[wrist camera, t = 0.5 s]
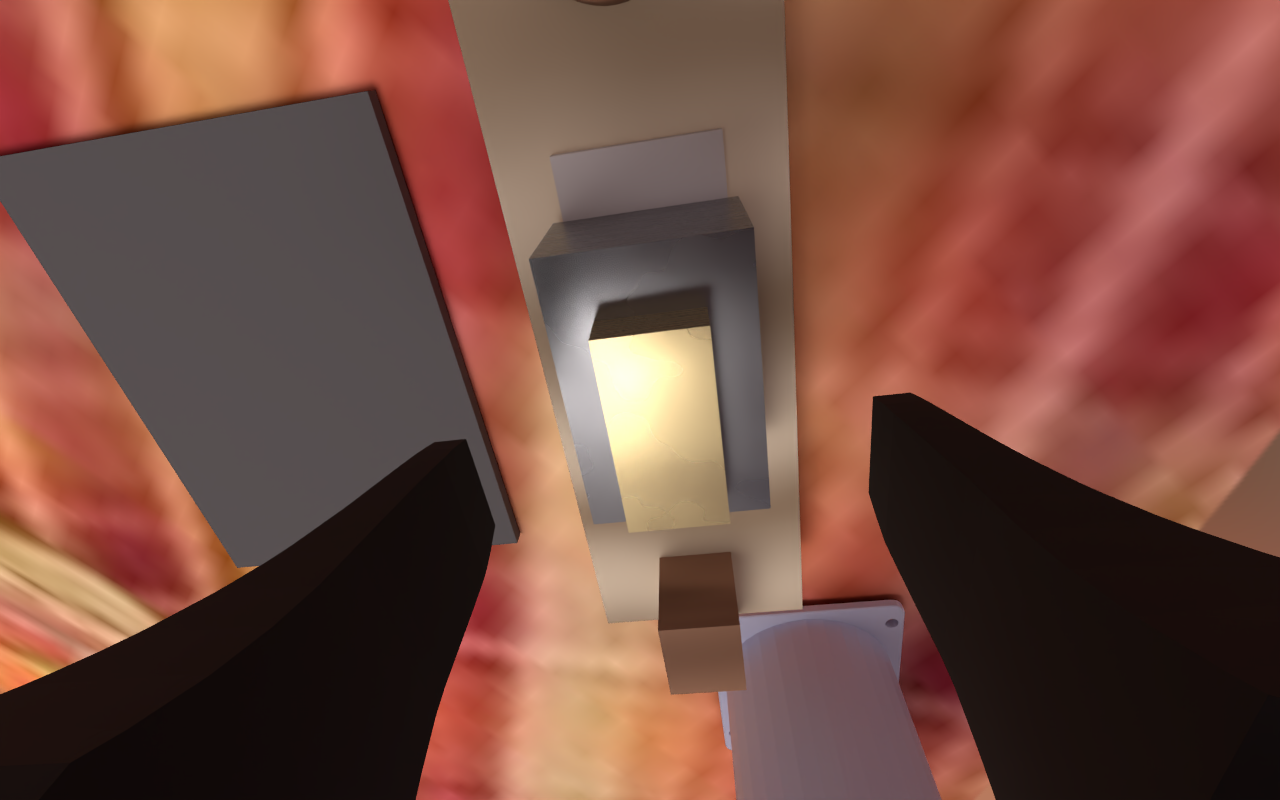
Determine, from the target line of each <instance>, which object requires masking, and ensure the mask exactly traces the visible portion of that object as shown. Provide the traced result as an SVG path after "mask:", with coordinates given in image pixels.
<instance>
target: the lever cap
mask: <svg viewBox="0 0 1280 800" xmlns="http://www.w3.org/2000/svg"><path fill="white" fill-rule="evenodd" d="M529 263H530V267H531V271H532V275H533V279H534V283H535V287H536V291H537V295H538V299H539V303H540V307H541V311H542V316H543V320H544V324H545V328H546V332H547V336H548V340H549V344H550V348H551V352H552V356H553V360H554V364H555V368H556V373H557V377H558V381H559V385H560V389H561V393H562V397H563V401H564V405H565V409H566V413H567V417H568V421H569V426H570V430H571V434H572V438H573V442H574V446H575V450H576V454H577V458H578V462H579V466H580V470H581V474H582V478H583V483H584V487H585V491H586V495H587V499H588V503H589V507H590V511H591V515H592V519H593V523H594V524H605V523H616V522H627V527H628V532H629V533H632V532H643V531H655V530H666V529H677V528H689V527H700V526H711V525H722V524H730V514H729V512H737V511H748V510H759V509H770V508H771V504H770V487H769V470H768V453H767V437H766V420H765V403H764V386H763V370H762V353H761V336H760V319H759V303H758V286H757V269H756V253H755V236H754V226H753V224H752V222H751V220H750V218H749V216H748V214H747V212H746V210H745V208H744V206H743V204H742V202H741V200H740V198H739V196H735V197H728V198H722V199H715V200H708V201H701V202H694V203H688V204H681V205H674V206H667V207H660V208H654V209H647V210H640V211H633V212H627V213H620V214H613V215H606V216H599V217H593V218H586V219H579V220H572V221H565V222H559V223H553V224H552V226H551V227H550V229H549V230H548V232H547V233H546V235H545V236H544V237H543V239H542V240H541V242H540V243H539V245H538V246H537V248H536V249H535V251H534V252H533V253H532V255H531V256H530V258H529Z"/></svg>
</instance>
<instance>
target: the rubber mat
mask: <svg viewBox="0 0 1280 800" xmlns="http://www.w3.org/2000/svg"><path fill="white" fill-rule="evenodd" d="M0 201H1V203H2V204H3V206H4V207H5V209H6V210H7V212H8V214H9V215H10V217H11V218H12V220H13V221H14V223H15V224H16V226H17V228H18V229H19V231H20V232H21V234H22V235H23V237H24V238H25V240H26V241H27V243H28V245H29V246H30V248H31V249H32V251H33V252H34V254H35V255H36V257H37V258H38V260H39V262H40V263H41V265H42V266H43V268H44V269H45V271H46V272H47V274H48V275H49V277H50V279H51V280H52V282H53V283H54V285H55V286H56V288H57V289H58V291H59V292H60V294H61V296H62V297H63V299H64V300H65V302H66V303H67V305H68V306H69V308H70V309H71V311H72V313H73V314H74V316H75V317H76V319H77V320H78V322H79V323H80V325H81V327H82V328H83V330H84V331H85V333H86V334H87V336H88V337H89V339H90V340H91V342H92V344H93V345H94V347H95V348H96V350H97V351H98V353H99V354H100V356H101V357H102V359H103V361H104V362H105V364H106V365H107V367H108V368H109V370H110V371H111V373H112V374H113V376H114V378H115V379H116V381H117V382H118V384H119V385H120V387H121V388H122V390H123V391H124V393H125V395H126V396H127V398H128V399H129V401H130V402H131V404H132V405H133V407H134V408H135V410H136V412H137V413H138V415H139V416H140V418H141V419H142V421H143V422H144V424H145V425H146V427H147V429H148V430H149V432H150V433H151V435H152V436H153V438H154V439H155V441H156V443H157V444H158V446H159V447H160V449H161V450H162V452H163V453H164V455H165V456H166V458H167V460H168V461H169V463H170V464H171V466H172V467H173V469H174V470H175V472H176V473H177V475H178V477H179V478H180V480H181V481H182V483H183V484H184V486H185V487H186V489H187V490H188V492H189V494H190V495H191V497H192V498H193V500H194V501H195V503H196V504H197V506H198V507H199V509H200V511H201V512H202V514H203V515H204V517H205V518H206V520H207V521H208V523H209V524H210V526H211V528H212V529H213V531H214V532H215V534H216V535H217V537H218V538H219V540H220V541H221V543H222V545H223V546H224V548H225V549H226V551H227V552H228V554H229V555H230V557H231V559H232V560H233V562H234V563H235V565H236V566H237V568H240V567H251V566H260V565H262V564H264V563H265V562H267V561H268V560H270V559H271V558H273V557H274V556H276V555H278V554H279V553H281V552H282V551H284V550H285V549H287V548H288V547H290V546H291V545H293V544H294V543H296V542H297V541H298V540H300V539H301V538H303V537H304V536H305V535H307V534H308V533H310V532H311V531H313V530H314V529H315V528H317V527H318V526H320V525H321V524H322V523H324V522H325V521H327V520H328V519H329V518H331V517H332V516H334V515H335V514H337V513H338V512H339V511H341V510H342V509H344V508H345V507H346V506H348V505H349V504H350V503H352V502H353V501H354V500H356V499H357V498H358V497H359V496H361V495H362V494H363V493H365V492H366V491H367V490H369V489H370V488H371V487H373V486H374V485H375V484H377V483H378V482H379V481H381V480H382V479H383V478H384V477H386V476H387V475H388V474H390V473H391V472H392V471H394V470H395V469H396V468H398V467H399V466H400V465H402V464H403V463H404V462H406V461H407V460H408V459H410V458H411V457H412V456H414V455H415V454H417V453H418V452H420V451H421V450H423V449H424V448H426V447H427V446H429V445H431V444H432V443H434V442H440V441H450V440H459V439H466V440H467V443H468V446H469V449H470V452H471V455H472V457H473V460H474V463H475V466H476V469H477V472H478V475H479V478H480V481H481V484H482V487H483V490H484V493H485V496H486V499H487V502H488V505H489V508H490V511H491V514H492V517H493V520H494V522H495V530H494V536H493V541H492V545H500V544H511V543H517V542H518V539H519V536H520V533H519V530H518V527H517V524H516V520H515V517H514V514H513V511H512V508H511V505H510V502H509V499H508V496H507V493H506V490H505V487H504V484H503V481H502V478H501V474H500V471H499V468H498V465H497V462H496V459H495V456H494V453H493V450H492V447H491V444H490V441H489V438H488V435H487V431H486V428H485V425H484V422H483V419H482V416H481V413H480V410H479V407H478V404H477V401H476V398H475V395H474V392H473V388H472V385H471V382H470V379H469V376H468V373H467V370H466V367H465V364H464V361H463V358H462V355H461V352H460V349H459V346H458V342H457V339H456V336H455V333H454V330H453V327H452V324H451V321H450V318H449V315H448V312H447V309H446V306H445V303H444V299H443V296H442V293H441V290H440V287H439V284H438V281H437V278H436V275H435V272H434V269H433V266H432V263H431V260H430V257H429V253H428V250H427V247H426V244H425V241H424V238H423V235H422V232H421V229H420V226H419V223H418V220H417V217H416V214H415V210H414V207H413V204H412V201H411V198H410V195H409V192H408V189H407V186H406V183H405V180H404V177H403V174H402V171H401V167H400V164H399V161H398V158H397V155H396V152H395V149H394V146H393V143H392V140H391V137H390V134H389V131H388V128H387V125H386V121H385V118H384V115H383V112H382V109H381V106H380V103H379V100H378V97H377V94H376V91H375V90H372V91H365V92H359V93H354V94H348V95H343V96H337V97H331V98H326V99H320V100H314V101H309V102H303V103H298V104H292V105H286V106H281V107H275V108H269V109H264V110H258V111H253V112H247V113H241V114H236V115H230V116H224V117H219V118H213V119H208V120H202V121H196V122H191V123H185V124H179V125H174V126H168V127H163V128H157V129H151V130H146V131H140V132H134V133H129V134H123V135H118V136H112V137H106V138H101V139H95V140H89V141H84V142H78V143H73V144H67V145H61V146H56V147H50V148H44V149H39V150H33V151H28V152H22V153H16V154H11V155H5V156H0Z"/></svg>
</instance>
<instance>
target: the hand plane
mask: <svg viewBox="0 0 1280 800" xmlns="http://www.w3.org/2000/svg"><path fill="white" fill-rule="evenodd" d="M448 1H449V5H450V9H451V13H452V16H453V20H454V24H455V28H456V32H457V36H458V40H459V44H460V48H461V51H462V55H463V59H464V63H465V67H466V71H467V75H468V79H469V83H470V86H471V90H472V94H473V98H474V102H475V106H476V110H477V114H478V118H479V122H480V125H481V129H482V133H483V137H484V141H485V145H486V149H487V153H488V157H489V160H490V164H491V168H492V172H493V176H494V180H495V184H496V188H497V192H498V196H499V199H500V203H501V207H502V211H503V215H504V219H505V223H506V227H507V231H508V234H509V238H510V242H511V246H512V250H513V254H514V258H515V262H516V266H517V270H518V273H519V277H520V281H521V285H522V289H523V293H524V297H525V301H526V305H527V308H528V312H529V316H530V320H531V324H532V328H533V332H534V336H535V340H536V344H537V347H538V351H539V355H540V359H541V363H542V367H543V371H544V375H545V379H546V382H547V386H548V390H549V394H550V398H551V402H552V406H553V410H554V414H555V418H556V421H557V425H558V429H559V433H560V437H561V441H562V445H563V449H564V453H565V456H566V460H567V464H568V468H569V472H570V476H571V480H572V484H573V488H574V492H575V495H576V499H577V503H578V507H579V511H580V515H581V519H582V523H583V527H584V530H585V534H586V538H587V542H588V546H589V550H590V554H591V558H592V562H593V566H594V569H595V573H596V577H597V581H598V585H599V589H600V593H601V597H602V601H603V604H604V608H605V612H606V616H607V620H608V623H619V622H633V621H646V620H658V632H659V637H660V642H661V647H662V652H663V657H664V662H665V667H666V672H667V677H668V682H669V687H670V692H671V695H672V694H689V693H706V692H723V691H740V690H747V688H746V678H745V669H744V659H743V650H742V640H741V630H740V621H739V614H743V613H757V612H771V611H785V610H798V609H803V605H802V572H801V539H800V506H799V472H798V439H797V406H796V373H795V340H794V307H793V274H792V240H791V207H790V174H789V141H788V108H787V75H786V42H785V8H784V0H448ZM735 196H739V198H740V200H741V202H742V204H743V206H744V208H745V210H746V212H747V214H748V216H749V218H750V220H751V222H752V224H753V226H754V236H755V253H756V269H757V286H758V303H759V319H760V336H761V353H762V370H763V386H764V403H765V420H766V437H767V453H768V470H769V487H770V504H771V508H770V509H759V510H748V511H737V512H729V514H730V524H722V525H711V526H700V527H689V528H677V529H666V530H655V531H643V532H632V533H629V532H628V527H627V522H616V523H605V524H594V523H593V519H592V515H591V511H590V507H589V503H588V499H587V495H586V491H585V487H584V483H583V478H582V474H581V470H580V466H579V462H578V458H577V454H576V450H575V446H574V442H573V438H572V434H571V430H570V426H569V421H568V417H567V413H566V409H565V405H564V401H563V397H562V393H561V389H560V385H559V381H558V377H557V373H556V368H555V364H554V360H553V356H552V352H551V348H550V344H549V340H548V336H547V332H546V328H545V324H544V320H543V316H542V311H541V307H540V303H539V299H538V295H537V291H536V287H535V283H534V279H533V275H532V271H531V267H530V263H529V258H530V256H531V255H532V253H533V252H534V251H535V249H536V248H537V246H538V245H539V243H540V242H541V240H542V239H543V237H544V236H545V235H546V233H547V232H548V230H549V229H550V227H551V226H552V224H553V223H559V222H565V221H572V220H579V219H586V218H593V217H599V216H606V215H613V214H620V213H627V212H633V211H640V210H647V209H654V208H660V207H667V206H674V205H681V204H688V203H694V202H701V201H708V200H715V199H722V198H728V197H735Z"/></svg>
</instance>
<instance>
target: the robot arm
mask: <svg viewBox="0 0 1280 800" xmlns="http://www.w3.org/2000/svg"><path fill="white" fill-rule="evenodd" d="M869 495H870V498H871V501H872V505H873V508H874V511H875V514H876V517H877V520H878V523H879V526H880V529H881V532H882V535H883V538H884V540H885V543H886V545H887V547H888V549H889V552H890V554H891V556H892V558H893V560H894V562H895V564H896V566H897V568H898V570H899V572H900V574H901V576H902V578H903V580H904V582H905V585H906V587H907V589H908V591H909V593H910V595H911V597H912V599H913V601H914V603H915V605H916V607H917V609H918V611H919V613H920V615H921V617H922V619H923V621H924V623H925V625H926V627H927V629H928V631H929V633H930V635H931V637H932V639H933V641H934V643H935V645H936V647H937V649H938V651H939V653H940V655H941V657H942V659H943V661H944V664H945V666H946V668H947V670H948V673H949V675H950V677H951V680H952V682H953V684H954V686H955V689H956V692H957V694H958V697H959V700H960V702H961V705H962V708H963V710H964V713H965V716H966V718H967V721H968V724H969V726H970V729H971V732H972V734H973V737H974V740H975V742H976V745H977V748H978V751H979V753H980V756H981V759H982V762H983V765H984V767H985V770H986V773H987V776H988V779H989V782H990V784H991V787H992V790H993V793H994V796H995V799H996V800H1280V557H1276V556H1273V555H1269V554H1266V553H1263V552H1260V551H1257V550H1254V549H1251V548H1248V547H1245V546H1242V545H1239V544H1236V543H1233V542H1230V541H1227V540H1225V539H1222V538H1219V537H1216V536H1212V535H1210V534H1207V533H1204V532H1201V531H1198V530H1195V529H1192V528H1189V527H1187V526H1184V525H1181V524H1179V523H1176V522H1173V521H1171V520H1168V519H1165V518H1162V517H1160V516H1157V515H1155V514H1152V513H1150V512H1147V511H1145V510H1142V509H1140V508H1138V507H1135V506H1133V505H1130V504H1128V503H1125V502H1123V501H1120V500H1118V499H1116V498H1113V497H1111V496H1108V495H1106V494H1103V493H1101V492H1099V491H1097V490H1094V489H1092V488H1090V487H1088V486H1085V485H1083V484H1081V483H1079V482H1077V481H1075V480H1073V479H1071V478H1068V477H1066V476H1064V475H1062V474H1060V473H1058V472H1056V471H1054V470H1052V469H1050V468H1048V467H1046V466H1044V465H1042V464H1040V463H1038V462H1036V461H1034V460H1032V459H1030V458H1028V457H1026V456H1024V455H1022V454H1020V453H1019V452H1017V451H1015V450H1013V449H1011V448H1009V447H1007V446H1005V445H1004V444H1002V443H1000V442H998V441H996V440H995V439H993V438H991V437H989V436H987V435H986V434H984V433H982V432H980V431H979V430H977V429H975V428H973V427H972V426H970V425H968V424H966V423H965V422H963V421H961V420H959V419H958V418H956V417H954V416H952V415H951V414H949V413H947V412H946V411H944V410H942V409H940V408H939V407H937V406H935V405H933V404H932V403H930V402H928V401H926V400H924V399H922V398H920V397H919V396H916V395H914V394H912V393H903V394H893V395H883V396H874V397H873V409H872V432H871V454H870V476H869ZM494 530H495V522H494V520H493V517H492V514H491V511H490V508H489V505H488V502H487V499H486V496H485V493H484V490H483V487H482V484H481V481H480V478H479V475H478V472H477V469H476V466H475V463H474V460H473V457H472V455H471V452H470V449H469V446H468V443H467V440H466V439H459V440H450V441H440V442H434V443H432V444H431V445H429V446H427V447H426V448H424V449H423V450H421V451H420V452H418V453H417V454H415V455H414V456H412V457H411V458H410V459H408V460H407V461H406V462H404V463H403V464H402V465H400V466H399V467H398V468H396V469H395V470H394V471H392V472H391V473H390V474H388V475H387V476H386V477H384V478H383V479H382V480H381V481H379V482H378V483H377V484H375V485H374V486H373V487H371V488H370V489H369V490H367V491H366V492H365V493H363V494H362V495H361V496H359V497H358V498H357V499H356V500H354V501H353V502H352V503H350V504H349V505H348V506H346V507H345V508H344V509H342V510H341V511H339V512H338V513H337V514H335V515H334V516H332V517H331V518H329V519H328V520H327V521H325V522H324V523H322V524H321V525H320V526H318V527H317V528H315V529H314V530H313V531H311V532H310V533H308V534H307V535H305V536H304V537H303V538H301V539H300V540H298V541H297V542H296V543H294V544H293V545H291V546H290V547H288V548H287V549H285V550H284V551H282V552H281V553H279V554H278V555H276V556H274V557H273V558H271V559H270V560H268V561H267V562H265V563H264V564H262V565H260V566H259V567H257V568H255V569H254V570H252V571H250V572H249V573H247V574H245V575H244V576H242V577H240V578H239V579H237V580H235V581H234V582H232V583H230V584H229V585H227V586H225V587H224V588H222V589H220V590H218V591H217V592H215V593H213V594H211V595H209V596H207V597H206V598H204V599H202V600H200V601H198V602H196V603H194V604H192V605H190V606H189V607H187V608H185V609H183V610H181V611H179V612H177V613H175V614H174V615H172V616H170V617H168V618H166V619H164V620H162V621H160V622H158V623H157V624H155V625H153V626H151V627H149V628H147V629H145V630H143V631H141V632H139V633H137V634H135V635H133V636H131V637H129V638H127V639H125V640H123V641H120V642H118V643H116V644H114V645H112V646H110V647H108V648H106V649H104V650H102V651H100V652H97V653H95V654H93V655H91V656H89V657H86V658H84V659H82V660H80V661H77V662H75V663H73V664H71V665H69V666H66V667H64V668H62V669H60V670H57V671H55V672H53V673H51V674H48V675H46V676H44V677H41V678H39V679H37V680H34V681H32V682H30V683H27V684H25V685H23V686H20V687H18V688H15V689H13V690H10V691H8V692H5V693H3V694H0V800H416V795H417V791H418V786H419V782H420V778H421V773H422V769H423V765H424V761H425V757H426V753H427V749H428V745H429V741H430V737H431V733H432V729H433V725H434V721H435V717H436V714H437V710H438V707H439V704H440V701H441V698H442V695H443V691H444V688H445V685H446V683H447V680H448V677H449V674H450V672H451V669H452V666H453V663H454V661H455V658H456V655H457V652H458V650H459V647H460V644H461V642H462V639H463V636H464V633H465V631H466V628H467V625H468V622H469V620H470V617H471V614H472V611H473V609H474V606H475V603H476V600H477V597H478V594H479V592H480V589H481V586H482V583H483V580H484V577H485V574H486V570H487V565H488V561H489V556H490V552H491V546H492V541H493V536H494ZM904 617H905V611H904V608H903V606H902V604H901V603H900V602H899V601H897V600H878V601H864V602H850V603H837V604H823V605H809V606H803V609H798V610H785V611H771V612H757V613H743V614H739V621H740V630H741V640H742V650H743V659H744V669H745V678H746V688H747V690H740V691H723V692H718V694H719V701H720V708H721V716H722V723H723V730H724V737H725V744H726V747H727V748H728V749H730V750H732V757H733V768H734V779H735V790H736V800H942V799H941V797H940V794H939V791H938V789H937V786H936V783H935V780H934V778H933V775H932V772H931V770H930V767H929V764H928V761H927V759H926V756H925V753H924V750H923V748H922V745H921V742H920V740H919V737H918V734H917V731H916V729H915V726H914V723H913V721H912V718H911V715H910V712H909V710H908V707H907V704H906V701H905V699H904V696H903V693H902V691H901V688H900V685H899V675H900V663H901V652H902V640H903V629H904ZM890 619H891V620H890Z"/></svg>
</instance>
